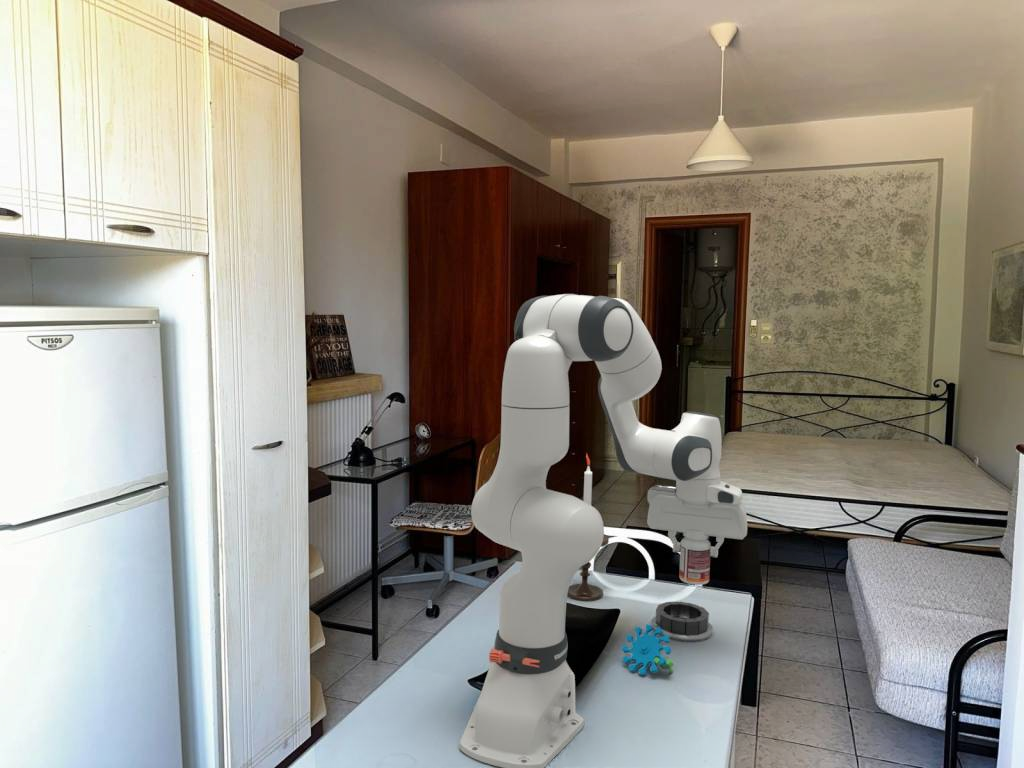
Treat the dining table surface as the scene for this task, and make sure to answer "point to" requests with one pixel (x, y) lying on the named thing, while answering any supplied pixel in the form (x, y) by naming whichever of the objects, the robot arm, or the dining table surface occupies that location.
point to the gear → (647, 651)
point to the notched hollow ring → (683, 621)
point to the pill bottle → (695, 558)
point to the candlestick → (584, 589)
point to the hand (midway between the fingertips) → (695, 553)
